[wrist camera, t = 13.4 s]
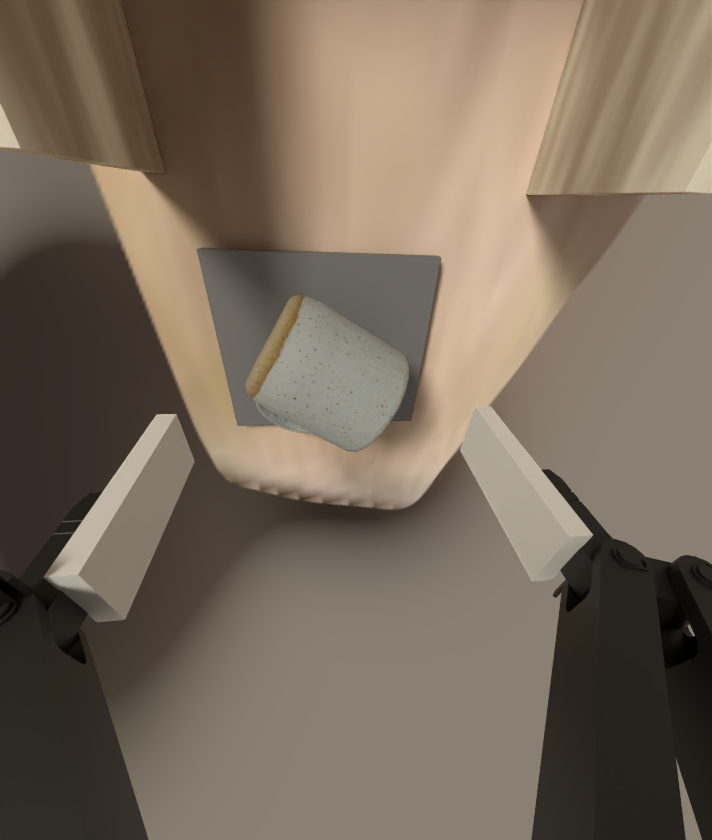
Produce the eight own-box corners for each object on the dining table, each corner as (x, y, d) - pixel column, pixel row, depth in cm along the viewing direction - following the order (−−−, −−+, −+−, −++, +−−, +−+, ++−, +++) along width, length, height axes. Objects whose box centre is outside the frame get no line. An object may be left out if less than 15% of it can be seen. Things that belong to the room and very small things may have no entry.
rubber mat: (239, 420, 26) (237, 425, 26) (200, 247, 19) (196, 249, 18) (408, 415, 28) (411, 420, 27) (437, 255, 20) (441, 257, 20)
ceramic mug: (296, 271, 19) (286, 309, 13) (397, 336, 22) (427, 391, 16) (235, 395, 24) (206, 465, 18) (325, 434, 27) (327, 504, 21)
